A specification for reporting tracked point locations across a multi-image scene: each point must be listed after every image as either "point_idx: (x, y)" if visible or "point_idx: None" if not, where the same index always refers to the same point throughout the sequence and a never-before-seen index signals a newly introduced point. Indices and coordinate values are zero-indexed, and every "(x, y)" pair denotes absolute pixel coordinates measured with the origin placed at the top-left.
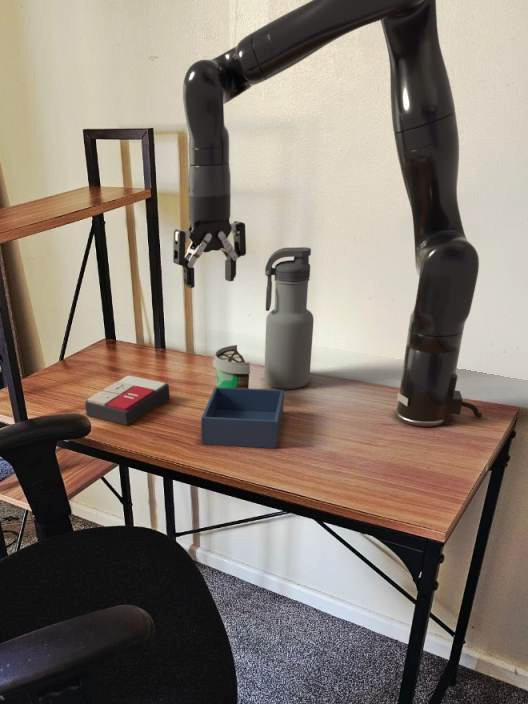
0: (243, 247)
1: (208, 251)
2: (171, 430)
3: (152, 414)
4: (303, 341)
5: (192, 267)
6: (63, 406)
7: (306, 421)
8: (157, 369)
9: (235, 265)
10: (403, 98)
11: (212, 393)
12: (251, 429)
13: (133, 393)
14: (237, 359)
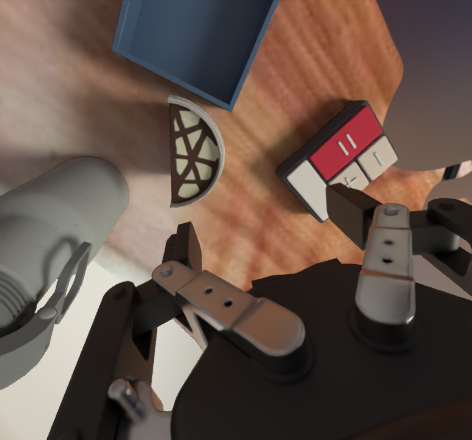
0: (110, 312)
1: (318, 264)
2: (305, 59)
3: (310, 130)
4: (32, 180)
5: (365, 218)
6: (397, 191)
7: (87, 11)
8: (258, 272)
9: (165, 258)
10: None
11: (243, 82)
12: None
13: (340, 154)
14: (182, 147)
